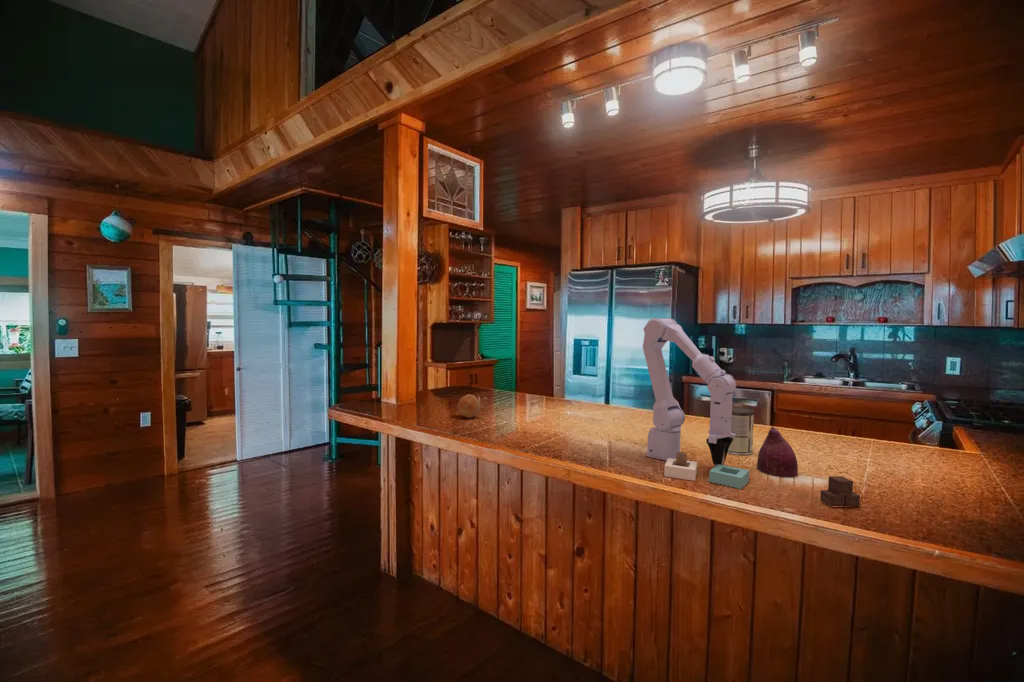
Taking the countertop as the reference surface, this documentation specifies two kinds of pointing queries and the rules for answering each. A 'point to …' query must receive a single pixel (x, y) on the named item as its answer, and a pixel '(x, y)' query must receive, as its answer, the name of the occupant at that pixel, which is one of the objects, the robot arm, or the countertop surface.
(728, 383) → the robot arm
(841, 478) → the stack of crates
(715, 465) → the maple dowel
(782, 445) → the vegetable
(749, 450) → the coffee can
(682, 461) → the walnut dowel
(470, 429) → the countertop surface
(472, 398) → the onion
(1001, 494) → the countertop surface
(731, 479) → the teal square frame block
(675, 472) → the white peg holder
